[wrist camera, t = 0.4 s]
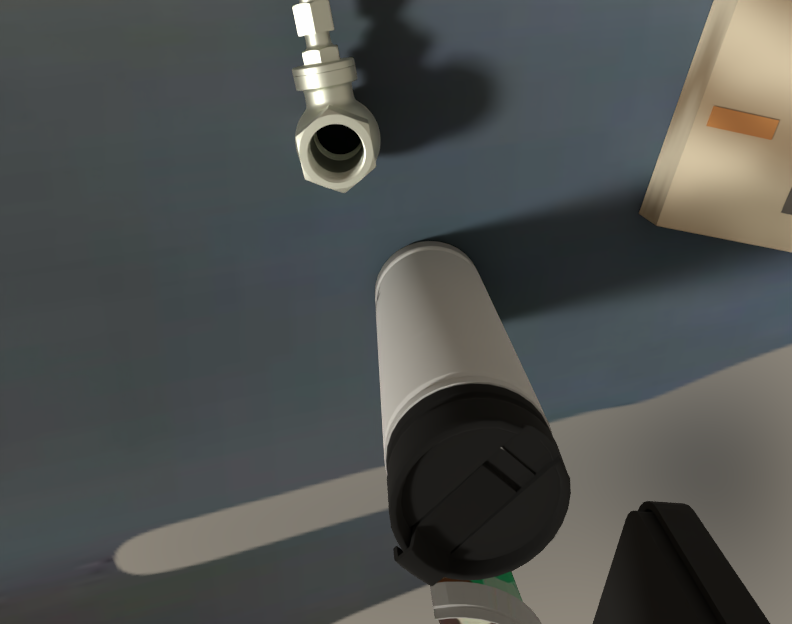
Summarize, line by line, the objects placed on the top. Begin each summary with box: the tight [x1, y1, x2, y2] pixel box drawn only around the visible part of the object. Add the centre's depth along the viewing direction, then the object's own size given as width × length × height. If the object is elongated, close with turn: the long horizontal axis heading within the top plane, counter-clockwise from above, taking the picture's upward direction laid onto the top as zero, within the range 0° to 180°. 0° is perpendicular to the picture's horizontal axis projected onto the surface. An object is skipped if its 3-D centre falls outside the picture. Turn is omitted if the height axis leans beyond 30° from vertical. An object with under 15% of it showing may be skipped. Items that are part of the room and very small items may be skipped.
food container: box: [430, 571, 541, 624], centre depth 44 cm, size 12×6×10 cm, turn 11°
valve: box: [292, 0, 381, 193], centre depth 32 cm, size 7×7×12 cm
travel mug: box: [375, 241, 571, 586], centre depth 31 cm, size 6×7×20 cm
